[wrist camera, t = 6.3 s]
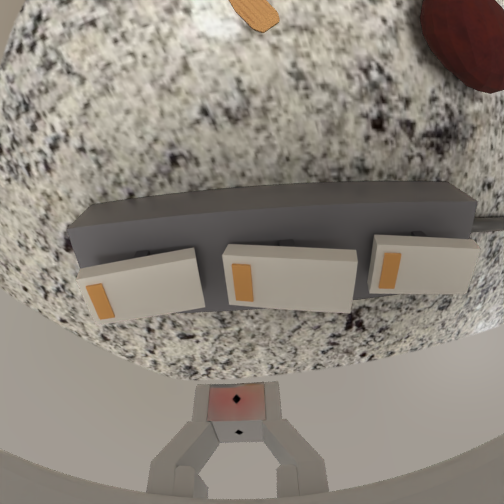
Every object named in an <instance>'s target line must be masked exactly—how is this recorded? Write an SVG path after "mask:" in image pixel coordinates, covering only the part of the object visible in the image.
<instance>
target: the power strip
mask: <svg viewBox="0 0 504 504" xmlns="http://www.w3.org/2000/svg"><path fill="white" fill-rule="evenodd" d="M477 202H478V201H476V200H475V199H473V198H472V197H470V196H469V195H467V194H466V193H464V192H463V191H461V190H460V189H458V188H457V187H455V186H454V185H452V184H450V183H449V182H433V181H352V182H320V183H298V184H279V185H264V186H250V187H237V188H225V189H214V190H203V191H193V192H184V193H175V194H166V195H158V196H150V197H142V198H134V199H127V200H120V201H113V202H106V203H100V204H93V205H91V206H90V207H89V208H87V209H86V210H85V211H84V212H83V213H82V214H81V215H80V216H79V217H78V218H77V219H76V220H75V221H74V222H73V223H72V224H71V225H70V226H69V227H68V228H67V232H68V235H69V238H70V241H71V244H72V247H73V250H74V252H75V255H76V258H77V261H78V263H79V266H80V269H81V268H86V267H91V266H96V265H102V264H107V263H112V262H117V261H123V260H128V259H133V258H139V257H144V256H150V255H155V254H160V253H166V252H171V251H177V250H182V249H188V248H193V247H194V250H195V255H196V260H197V266H198V271H199V276H200V281H201V286H202V291H203V296H204V302H205V307H204V308H198V309H193V310H187V311H182V312H176V313H194V312H214V311H232V310H248V309H262V308H260V307H249V306H238V305H229V300H228V293H227V286H226V279H225V272H224V265H223V258H222V254H223V253H224V251H225V249H226V247H227V246H228V244H242V245H264V246H286V247H307V248H328V249H348V250H356V253H357V260H358V264H357V272H356V279H355V286H354V293H353V300H358V299H366V298H374V297H382V296H390V295H398V294H372V293H369V288H368V283H367V280H368V274H369V268H370V261H371V254H372V247H373V239H374V235H395V236H417V237H436V238H455V239H469V238H470V234H471V233H473V232H488V231H504V217H498V218H474V217H475V212H476V207H477Z"/></svg>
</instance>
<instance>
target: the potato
mask: <svg viewBox="0 0 504 504" xmlns="http://www.w3.org/2000/svg"><path fill="white" fill-rule="evenodd" d="M420 21H421V26H422V32H423V35H424V37H425V39H426V41H427V43H428V45H429V47H430V49H431V51H432V52H433V53H434V54H435V56H436V57H437V58H438V59H439V60H440V62H441V63H442V64H443V65H444V67H445V68H447V69H448V70H449V71H450V72H452V73H453V74H454V75H455V76H456V77H457V78H459V79H460V80H461V81H462V82H463V83H464V84H465V85H466V86H468V87H471V88H473V89H475V90H478V91H481V92H485V93H489V94H491V93H495V92H498V91H502V90H504V10H503V8H502V7H501V6H500V5H499V4H498V3H497V2H496V1H495V0H423V3H422V9H421V15H420Z"/></svg>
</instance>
